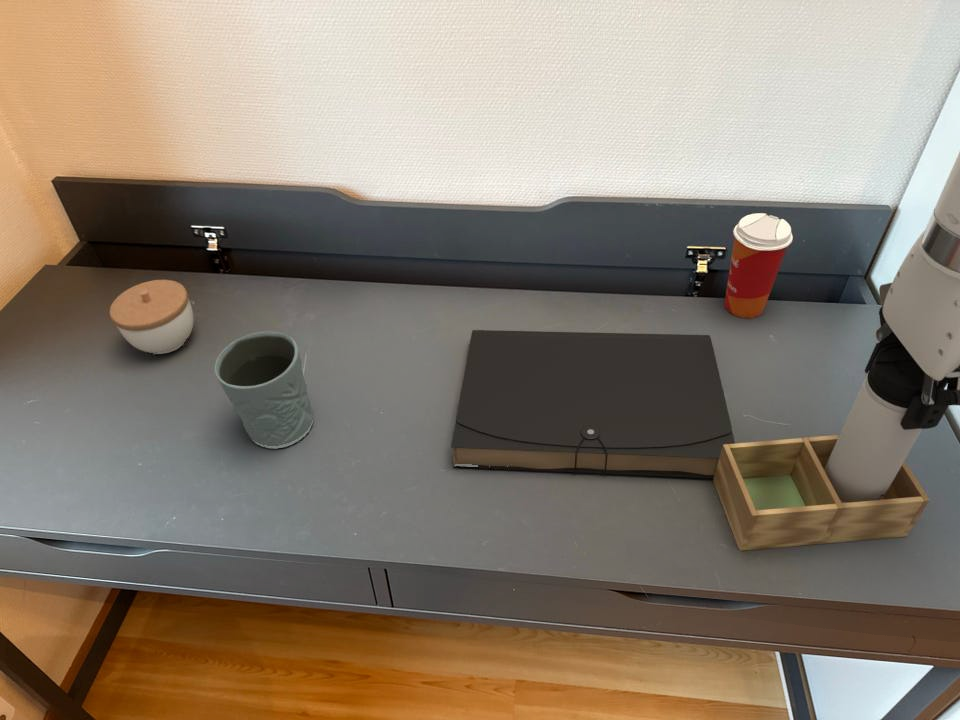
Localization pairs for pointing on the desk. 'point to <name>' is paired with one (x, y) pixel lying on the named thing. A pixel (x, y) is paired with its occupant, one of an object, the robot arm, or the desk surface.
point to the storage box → (805, 497)
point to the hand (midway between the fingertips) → (898, 397)
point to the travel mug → (877, 428)
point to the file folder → (592, 404)
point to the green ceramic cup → (266, 386)
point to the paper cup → (755, 262)
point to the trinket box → (154, 315)
